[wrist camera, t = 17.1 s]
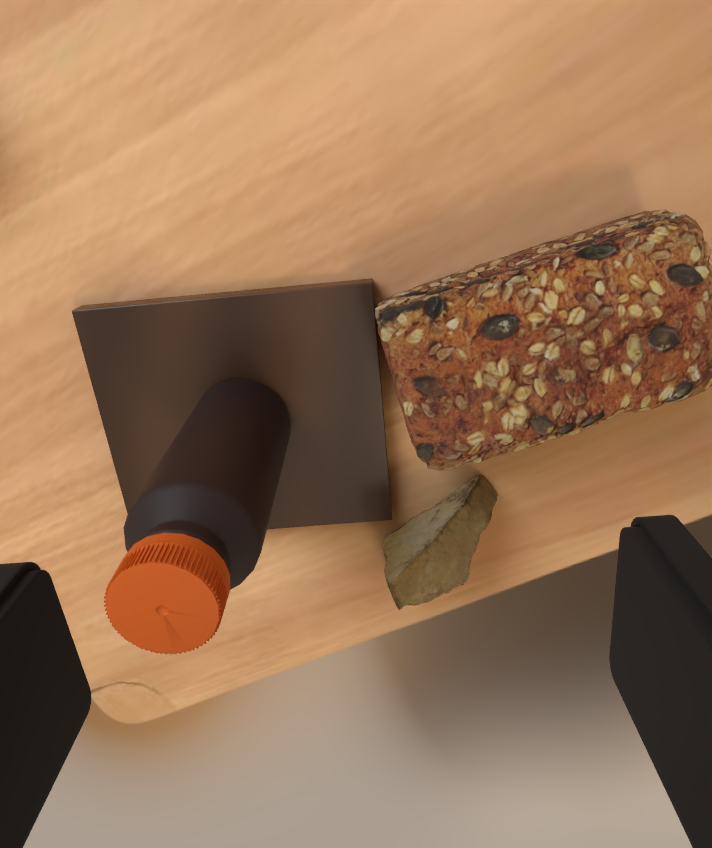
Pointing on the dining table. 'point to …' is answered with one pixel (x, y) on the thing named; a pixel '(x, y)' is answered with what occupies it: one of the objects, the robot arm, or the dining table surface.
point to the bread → (552, 338)
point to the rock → (438, 545)
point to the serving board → (261, 362)
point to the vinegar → (200, 519)
